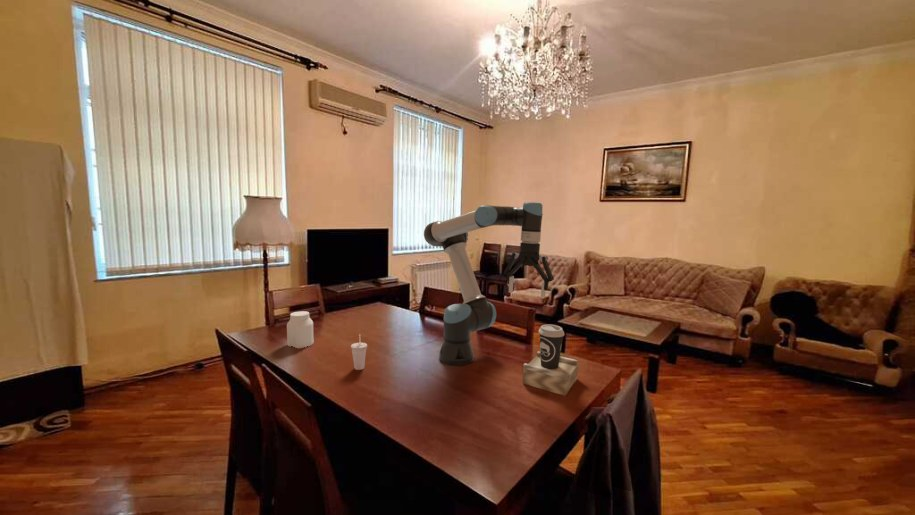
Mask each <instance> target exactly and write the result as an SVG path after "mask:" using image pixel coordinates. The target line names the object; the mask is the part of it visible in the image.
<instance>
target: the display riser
mask: <svg viewBox="0 0 915 515" xmlns="http://www.w3.org/2000/svg"><path fill="white" fill-rule="evenodd" d="M522 366H523V369H522V370H523V371H522V384H523V385H527V386H529V387H530V386H531V387H533V388H536V389H540V390H544V391H548V392H551V393H554V394H558V395H561V396H564V397H566V395H567V394H568V393H569V392H570V390H571V388H572V387H573V385H574V384H575V383H576V381H577V380H578V368H579V367H578V366H579V360H578V359H575V358H570V357H565V356H562V355H560V359H559V366H558V368H557V369H546V368H544V367H542V366H541V355H540V350H539V351H537V352H536V356H535V357H534V358H533V359H531V361H530V362H528V363H526V362H524V363H523V365H522Z"/></svg>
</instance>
